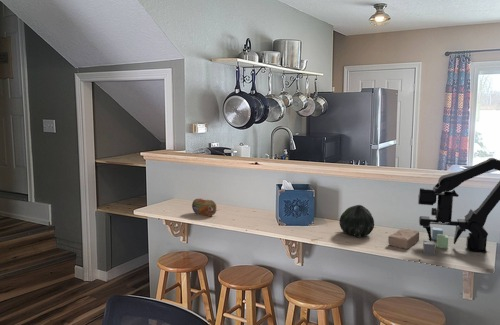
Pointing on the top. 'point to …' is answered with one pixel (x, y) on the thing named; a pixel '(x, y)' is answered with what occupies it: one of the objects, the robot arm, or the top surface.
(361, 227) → the squash
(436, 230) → the bluegrey block
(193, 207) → the tin
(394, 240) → the brick
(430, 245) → the charcoal block
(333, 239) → the top surface
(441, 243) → the green block
